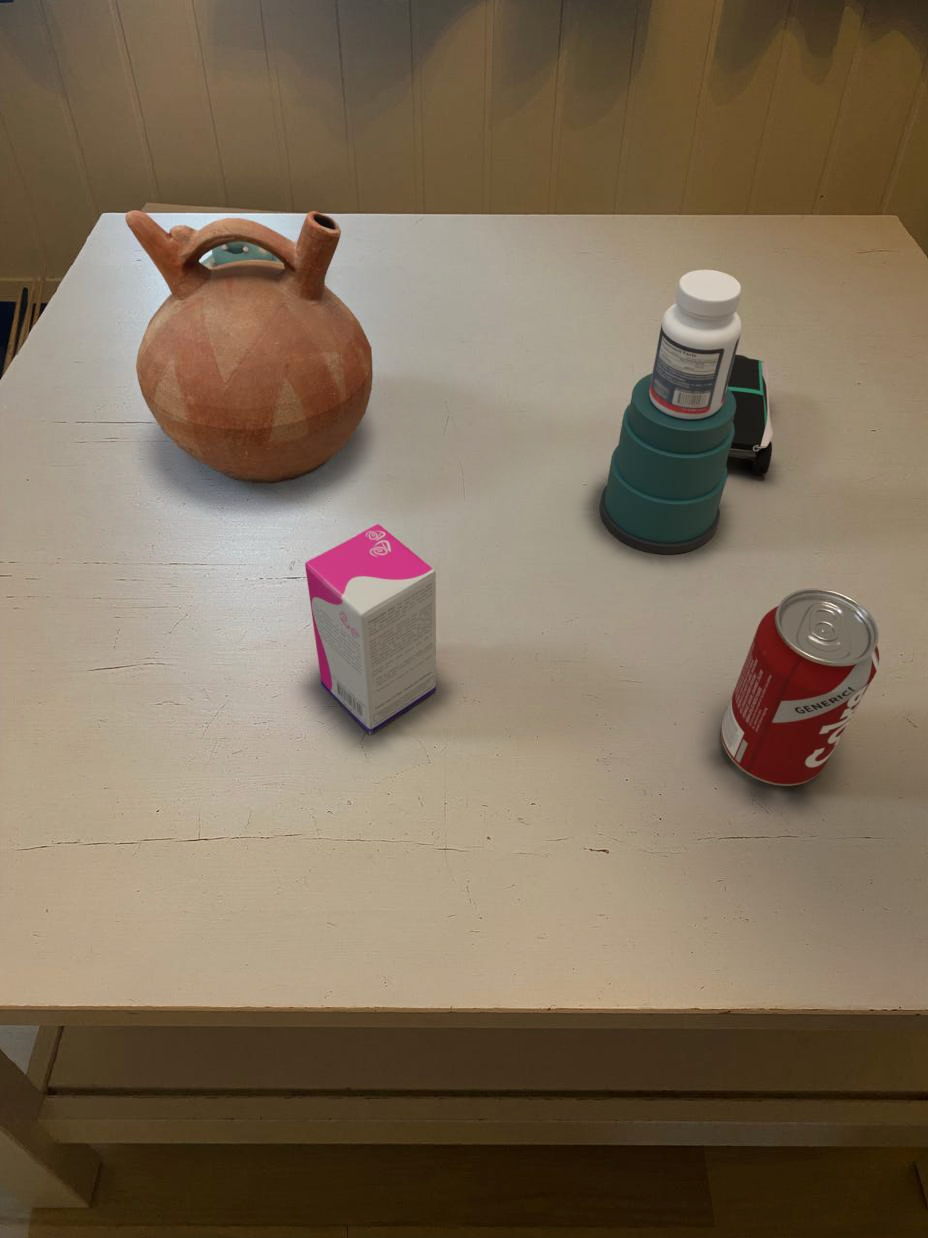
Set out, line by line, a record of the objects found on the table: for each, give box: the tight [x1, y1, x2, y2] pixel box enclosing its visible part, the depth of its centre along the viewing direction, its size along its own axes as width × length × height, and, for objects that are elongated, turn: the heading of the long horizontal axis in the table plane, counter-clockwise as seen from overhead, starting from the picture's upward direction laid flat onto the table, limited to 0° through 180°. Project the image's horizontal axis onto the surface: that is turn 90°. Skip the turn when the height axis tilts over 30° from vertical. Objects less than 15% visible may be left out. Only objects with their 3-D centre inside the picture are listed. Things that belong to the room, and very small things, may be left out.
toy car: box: [727, 354, 774, 475], centre depth 81 cm, size 6×12×5 cm, turn 170°
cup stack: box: [599, 372, 736, 555], centre depth 72 cm, size 9×9×11 cm
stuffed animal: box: [200, 242, 282, 269], centre depth 95 cm, size 11×7×12 cm
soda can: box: [720, 588, 880, 787], centre depth 56 cm, size 7×7×12 cm
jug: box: [124, 209, 374, 484], centre depth 73 cm, size 18×18×20 cm
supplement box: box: [304, 523, 437, 735], centre depth 59 cm, size 6×6×12 cm
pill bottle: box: [649, 269, 743, 419], centre depth 64 cm, size 5×5×9 cm
